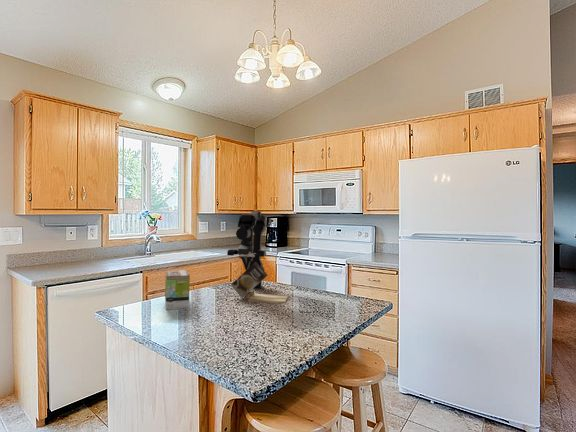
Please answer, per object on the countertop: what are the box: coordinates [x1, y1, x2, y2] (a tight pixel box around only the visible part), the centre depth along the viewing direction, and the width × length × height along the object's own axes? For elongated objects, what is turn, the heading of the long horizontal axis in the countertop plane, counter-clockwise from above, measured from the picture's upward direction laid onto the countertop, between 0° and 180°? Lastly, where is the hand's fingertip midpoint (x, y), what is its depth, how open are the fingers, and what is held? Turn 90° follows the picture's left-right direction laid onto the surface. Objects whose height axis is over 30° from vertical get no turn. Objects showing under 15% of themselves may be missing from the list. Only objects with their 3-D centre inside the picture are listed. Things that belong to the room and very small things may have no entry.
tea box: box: [164, 269, 191, 310], centre depth 151 cm, size 15×10×15 cm
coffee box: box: [230, 262, 268, 299], centre depth 164 cm, size 9×6×16 cm
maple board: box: [247, 293, 289, 304], centre depth 163 cm, size 13×18×1 cm
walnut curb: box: [244, 289, 255, 302], centre depth 165 cm, size 14×1×2 cm, turn 172°
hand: (246, 270), depth 165 cm, fingers closed
